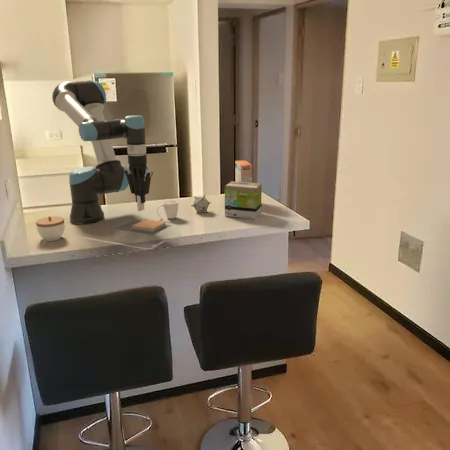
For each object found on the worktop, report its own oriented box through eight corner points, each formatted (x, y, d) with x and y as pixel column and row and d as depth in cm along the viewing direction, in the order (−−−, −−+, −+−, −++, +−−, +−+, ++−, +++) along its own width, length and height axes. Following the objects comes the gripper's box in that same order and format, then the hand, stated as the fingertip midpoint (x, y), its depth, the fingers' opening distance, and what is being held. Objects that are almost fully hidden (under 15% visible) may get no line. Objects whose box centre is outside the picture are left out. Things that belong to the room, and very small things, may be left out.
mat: (114, 229, 201) (114, 228, 201) (134, 220, 213) (134, 219, 212) (153, 236, 192) (153, 235, 192) (171, 226, 204) (171, 225, 204)
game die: (204, 220, 224) (208, 207, 216) (187, 214, 224) (190, 200, 216) (210, 207, 229) (214, 194, 221) (194, 201, 230) (197, 187, 222)
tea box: (224, 217, 217) (223, 185, 212) (231, 211, 226) (230, 180, 221) (256, 219, 212) (256, 187, 207) (261, 213, 221) (262, 182, 216)
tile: (132, 225, 198) (151, 228, 194) (146, 219, 207) (165, 222, 202) (132, 229, 199) (152, 232, 194) (146, 223, 207) (165, 226, 203)
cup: (180, 221, 211) (179, 203, 209) (157, 222, 210) (156, 205, 207) (178, 216, 218) (177, 199, 215) (156, 218, 216) (155, 201, 214)
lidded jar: (32, 240, 190) (29, 217, 187) (55, 232, 199) (52, 211, 196) (49, 245, 184) (46, 222, 181) (71, 237, 193) (69, 215, 190)
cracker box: (252, 207, 231) (252, 164, 225) (240, 207, 230) (240, 165, 224) (246, 199, 245) (246, 159, 238) (235, 200, 244) (234, 160, 237)
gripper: (118, 155, 192) (123, 210, 200) (144, 156, 187) (148, 214, 194) (129, 152, 199) (134, 206, 206) (155, 154, 193) (159, 209, 200)
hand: (141, 210), depth 200 cm, fingers closed
